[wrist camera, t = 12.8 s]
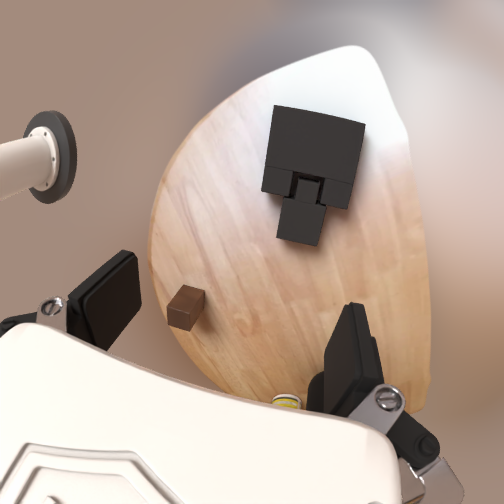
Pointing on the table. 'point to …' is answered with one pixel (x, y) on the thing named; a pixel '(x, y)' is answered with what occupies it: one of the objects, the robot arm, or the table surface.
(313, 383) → the decorative object
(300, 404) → the pill bottle
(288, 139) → the base pad
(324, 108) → the table surface
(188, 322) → the stand
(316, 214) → the small pad
